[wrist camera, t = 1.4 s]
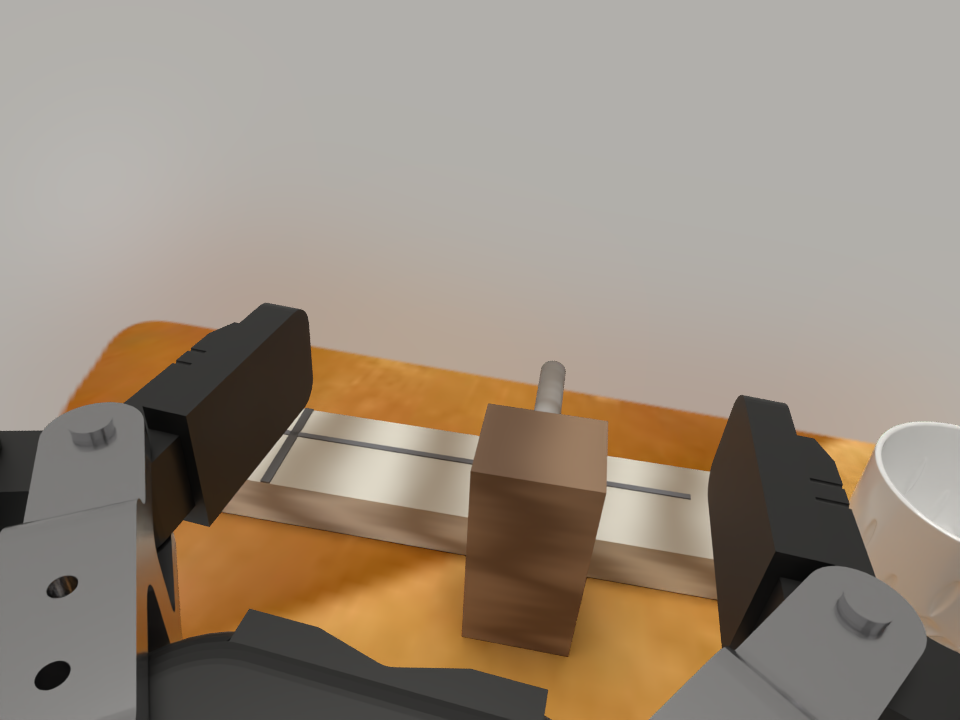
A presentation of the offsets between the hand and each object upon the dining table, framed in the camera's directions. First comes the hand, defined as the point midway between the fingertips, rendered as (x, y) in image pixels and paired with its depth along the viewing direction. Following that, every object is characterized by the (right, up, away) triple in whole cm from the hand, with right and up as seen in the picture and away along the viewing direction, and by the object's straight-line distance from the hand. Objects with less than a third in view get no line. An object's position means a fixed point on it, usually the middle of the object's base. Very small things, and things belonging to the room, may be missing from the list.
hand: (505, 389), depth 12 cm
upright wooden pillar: (+2, -10, +22) cm, 24 cm away
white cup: (+19, -13, +20) cm, 30 cm away
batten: (-2, -8, +24) cm, 26 cm away
